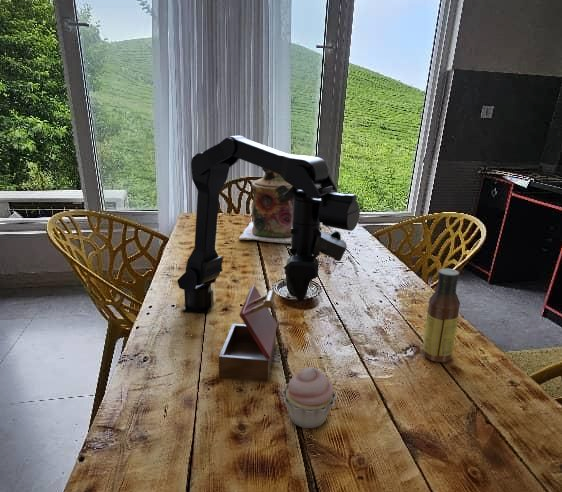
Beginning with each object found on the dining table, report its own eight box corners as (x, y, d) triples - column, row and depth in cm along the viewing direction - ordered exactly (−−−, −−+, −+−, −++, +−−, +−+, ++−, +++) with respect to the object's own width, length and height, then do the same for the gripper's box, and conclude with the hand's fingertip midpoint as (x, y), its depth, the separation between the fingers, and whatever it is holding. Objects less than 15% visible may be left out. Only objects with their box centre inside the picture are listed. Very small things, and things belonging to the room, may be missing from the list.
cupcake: (319, 444, 71) (324, 392, 67) (270, 421, 75) (272, 371, 72) (344, 412, 78) (349, 364, 75) (298, 393, 83) (301, 347, 79)
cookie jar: (250, 224, 192) (251, 148, 180) (306, 229, 189) (311, 151, 177) (237, 241, 169) (237, 155, 157) (301, 246, 166) (306, 158, 154)
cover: (239, 314, 81) (263, 303, 80) (250, 286, 94) (272, 276, 92) (266, 359, 84) (290, 349, 83) (274, 325, 97) (295, 316, 95)
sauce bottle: (451, 352, 99) (468, 268, 91) (451, 366, 93) (469, 279, 86) (420, 346, 101) (435, 264, 93) (419, 360, 95) (434, 274, 88)
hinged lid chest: (218, 377, 87) (218, 356, 85) (232, 342, 99) (232, 323, 97) (267, 381, 86) (268, 360, 84) (275, 345, 98) (275, 326, 97)
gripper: (348, 237, 81) (340, 314, 86) (344, 213, 98) (338, 278, 104) (287, 233, 81) (283, 310, 87) (294, 210, 99) (290, 275, 104)
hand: (301, 292), depth 96 cm, fingers open, 9 cm apart
